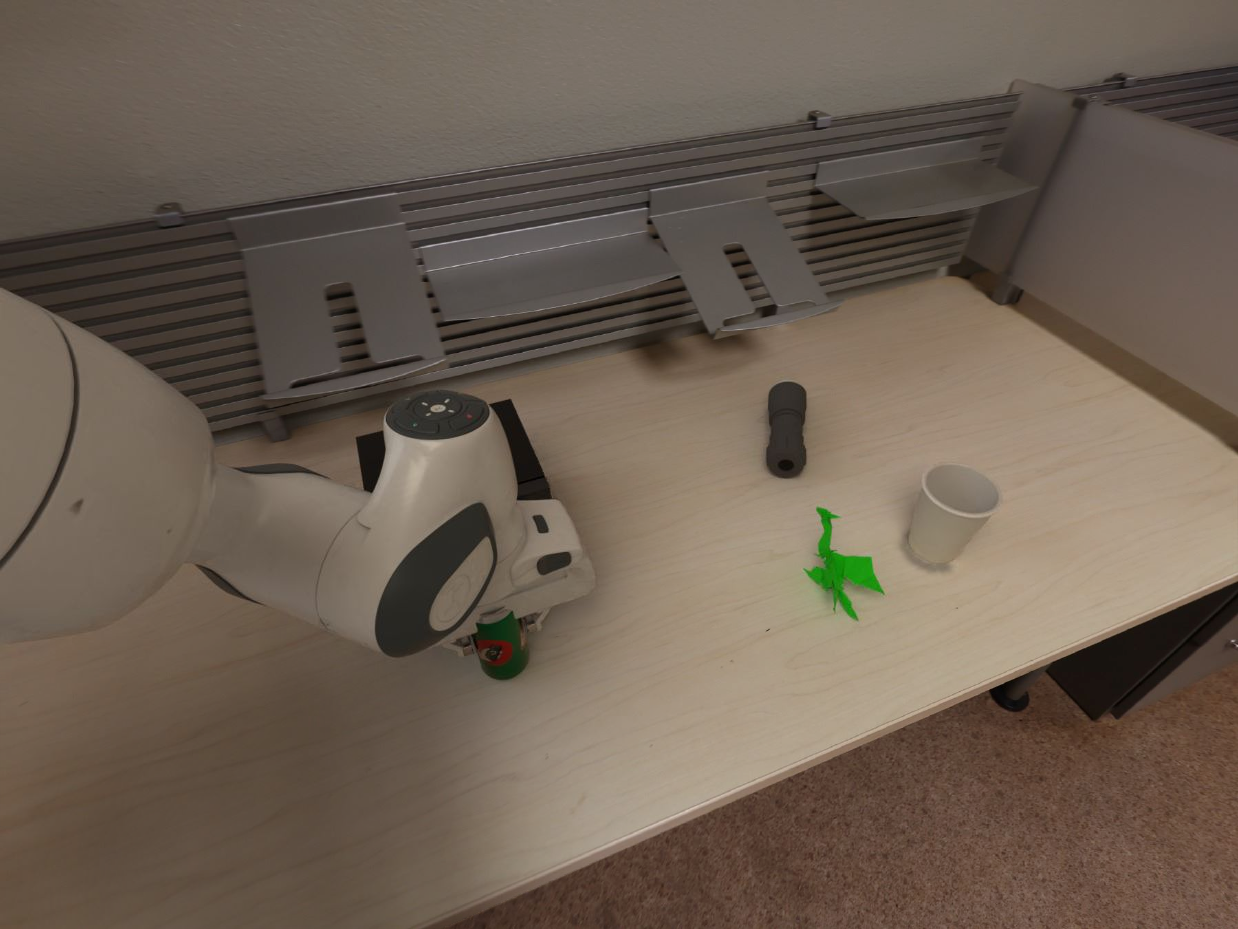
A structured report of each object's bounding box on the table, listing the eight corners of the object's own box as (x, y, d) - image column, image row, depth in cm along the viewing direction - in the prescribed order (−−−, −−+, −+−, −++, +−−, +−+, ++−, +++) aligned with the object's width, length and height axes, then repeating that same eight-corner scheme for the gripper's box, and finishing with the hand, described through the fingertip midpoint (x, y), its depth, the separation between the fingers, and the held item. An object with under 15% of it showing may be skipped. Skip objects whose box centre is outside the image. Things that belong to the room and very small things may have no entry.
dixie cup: (919, 578, 74) (949, 521, 67) (883, 524, 80) (907, 467, 73) (985, 565, 76) (1020, 508, 69) (945, 513, 81) (974, 456, 74)
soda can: (538, 666, 67) (525, 600, 59) (494, 692, 65) (474, 628, 57) (515, 631, 70) (500, 564, 62) (473, 655, 68) (451, 589, 60)
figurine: (820, 531, 79) (845, 490, 71) (876, 619, 72) (909, 584, 65) (775, 546, 77) (796, 505, 70) (828, 637, 71) (857, 603, 63)
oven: (556, 557, 78) (545, 474, 68) (404, 605, 73) (369, 524, 63) (524, 480, 87) (510, 398, 77) (388, 518, 82) (355, 436, 73)
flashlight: (803, 483, 86) (811, 454, 82) (762, 478, 86) (768, 448, 83) (802, 410, 96) (809, 381, 93) (766, 406, 97) (771, 377, 93)
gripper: (354, 622, 50) (399, 703, 60) (599, 543, 56) (604, 630, 65) (347, 562, 55) (390, 647, 64) (576, 494, 60) (583, 582, 69)
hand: (499, 638), depth 65 cm, fingers open, 6 cm apart
